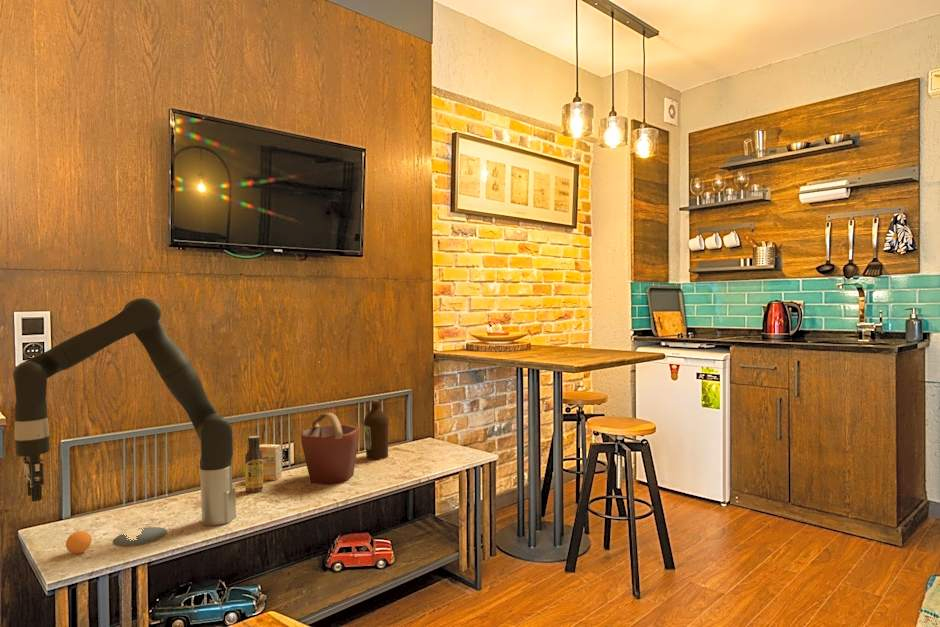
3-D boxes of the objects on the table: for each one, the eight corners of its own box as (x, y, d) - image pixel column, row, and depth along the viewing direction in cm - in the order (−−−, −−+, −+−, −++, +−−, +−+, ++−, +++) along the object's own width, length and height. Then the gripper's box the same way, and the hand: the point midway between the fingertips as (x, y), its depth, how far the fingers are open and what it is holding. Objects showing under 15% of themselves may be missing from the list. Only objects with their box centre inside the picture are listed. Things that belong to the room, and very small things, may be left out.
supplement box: (256, 480, 234) (255, 446, 234) (262, 476, 239) (261, 443, 238) (276, 480, 233) (275, 446, 232) (282, 476, 237) (281, 443, 237)
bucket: (301, 473, 242) (299, 411, 242) (356, 466, 249) (354, 406, 248) (304, 490, 219) (301, 422, 218) (365, 483, 226) (363, 416, 225)
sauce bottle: (248, 494, 216) (245, 439, 216) (243, 490, 221) (241, 436, 221) (266, 490, 220) (264, 436, 220) (261, 486, 225) (259, 434, 225)
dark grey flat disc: (175, 527, 186) (175, 526, 186) (150, 545, 172) (150, 545, 172) (131, 528, 186) (131, 527, 186) (102, 546, 172) (102, 546, 172)
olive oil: (384, 452, 271) (382, 397, 270) (393, 457, 261) (391, 400, 261) (361, 456, 266) (359, 399, 265) (369, 461, 256) (367, 403, 256)
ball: (96, 548, 171) (95, 527, 171) (82, 557, 165) (81, 535, 165) (76, 548, 172) (75, 527, 171) (61, 557, 166) (60, 536, 165)
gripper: (53, 437, 159) (56, 500, 159) (44, 430, 169) (47, 489, 170) (18, 442, 154) (21, 507, 154) (11, 434, 164) (13, 495, 164)
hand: (34, 497), depth 162 cm, fingers open, 6 cm apart
